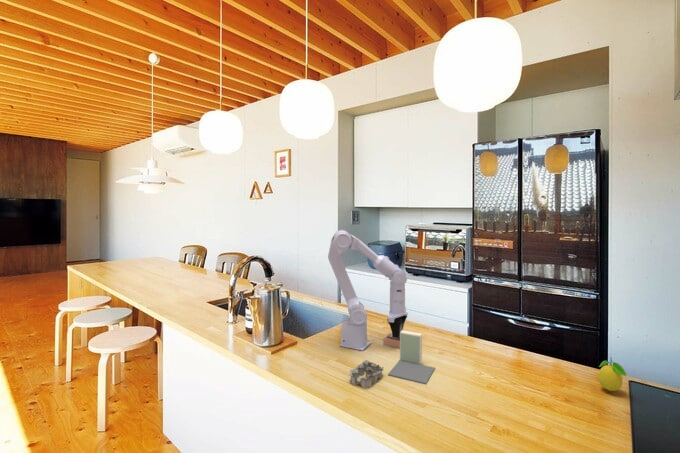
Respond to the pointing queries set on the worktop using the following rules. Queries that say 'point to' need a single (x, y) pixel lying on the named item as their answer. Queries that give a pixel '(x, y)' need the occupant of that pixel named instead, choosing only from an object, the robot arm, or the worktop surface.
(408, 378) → the mat
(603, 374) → the lemon
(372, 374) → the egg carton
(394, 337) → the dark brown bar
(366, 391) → the worktop surface
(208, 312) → the worktop surface
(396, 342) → the pusher holder
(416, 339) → the glazed tile
